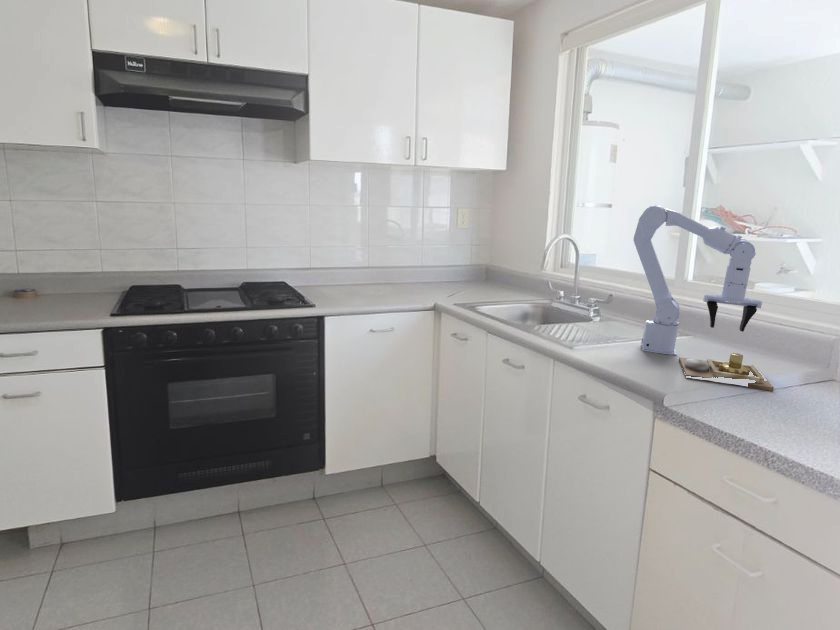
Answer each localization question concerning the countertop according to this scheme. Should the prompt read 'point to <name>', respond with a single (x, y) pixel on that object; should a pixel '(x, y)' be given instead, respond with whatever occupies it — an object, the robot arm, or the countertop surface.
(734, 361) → the planet gear
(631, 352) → the countertop surface
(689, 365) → the carrier board
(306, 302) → the countertop surface
